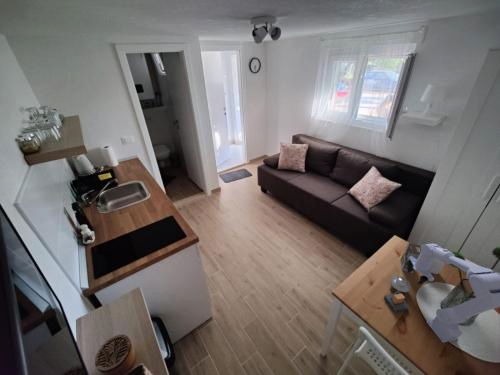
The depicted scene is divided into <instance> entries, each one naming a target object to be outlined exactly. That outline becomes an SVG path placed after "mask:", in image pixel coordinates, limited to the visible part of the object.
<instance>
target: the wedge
mask: <svg viewBox="0 0 500 375" xmlns="http://www.w3.org/2000/svg"><path fill="white" fill-rule="evenodd" d="M405 299H406V296H405V295H403V293H401V294H397V295H394V296H393V298H392V300H391V301H392V302H393V304H394V305H398V304H402V302H403V301H405Z"/></svg>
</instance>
